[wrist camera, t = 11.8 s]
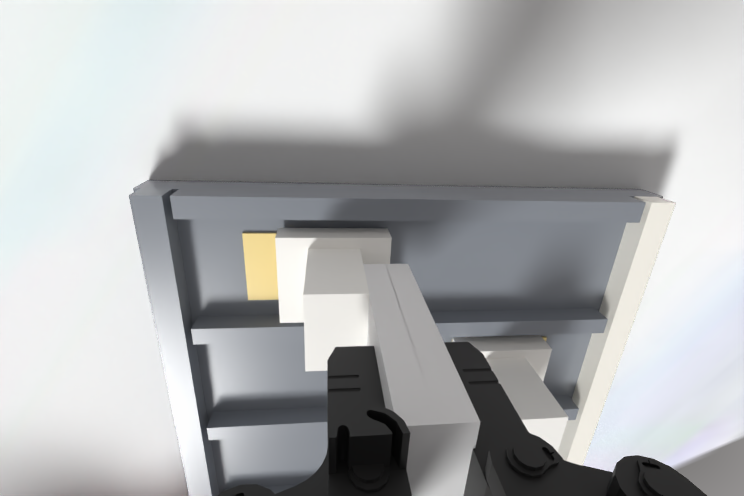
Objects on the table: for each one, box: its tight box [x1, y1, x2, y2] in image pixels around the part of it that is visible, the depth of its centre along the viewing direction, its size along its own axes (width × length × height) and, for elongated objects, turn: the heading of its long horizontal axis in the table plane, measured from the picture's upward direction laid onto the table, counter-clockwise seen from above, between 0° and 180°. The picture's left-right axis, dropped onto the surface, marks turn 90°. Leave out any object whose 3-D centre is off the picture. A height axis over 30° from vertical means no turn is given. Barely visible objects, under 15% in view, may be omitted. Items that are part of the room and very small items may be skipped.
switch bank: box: [129, 180, 676, 496], centre depth 18 cm, size 20×16×2 cm
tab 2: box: [452, 335, 568, 452], centre depth 16 cm, size 4×3×4 cm
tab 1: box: [275, 228, 392, 371], centre depth 13 cm, size 4×3×4 cm
